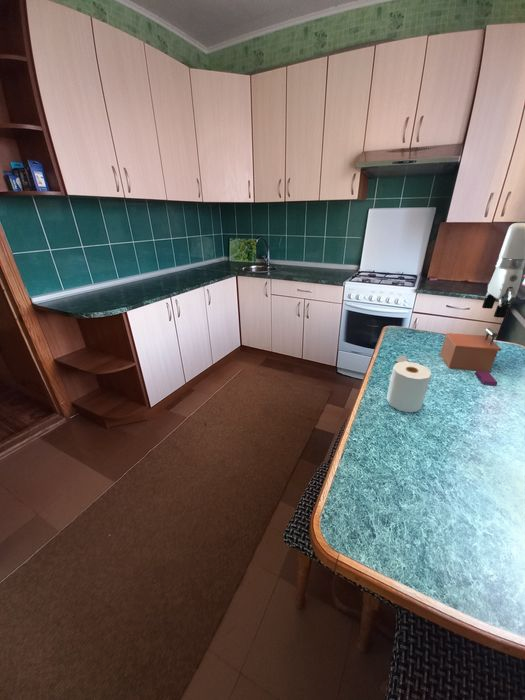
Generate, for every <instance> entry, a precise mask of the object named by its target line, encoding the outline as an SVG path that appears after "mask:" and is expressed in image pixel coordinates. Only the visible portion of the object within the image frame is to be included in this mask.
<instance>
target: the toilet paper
mask: <svg viewBox="0 0 525 700" xmlns="http://www.w3.org/2000/svg"><path fill="white" fill-rule="evenodd" d="M391 374H392V375H391ZM391 374H390V376H391V380H390V381H389V384H388V390H387V393H386V394H387V395H386V401H387V402H388V405H389V406H391V407H392V408H395V410H398V411H400V412H405V413H410V414H412V413H415V412H420V411H421V409H422V407H423V404H424V401H425V397H426V394H427V390H428V386H429V383H430V381H431V380H430V379H431V376H432V371H431V370H430V369H429V368H428V367H427V366H425V365H422V364H421V363H418V362H412V361H408V362H406V361H404V362H395V364H394V365H393V366H392V370H391Z"/></svg>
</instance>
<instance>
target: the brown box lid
mask: <svg viewBox="0 0 525 700" xmlns="http://www.w3.org/2000/svg"><path fill="white" fill-rule="evenodd" d="M485 332H486V334H485V335H478V334H465V333H453V332H451V333H450V332H445V336H447V337H448V338H449V340H450V341H451V342H452V344H453V345H454V346H455V347H458V348H470V349H482V350H495V351H498V352H501V351H502V348H501V347H500V346H499V345H498V344H497V343H496V342H495V341H494V339H495V338H496V337H498V333H497V332H496V331H495V330H493V329H492V328H491V327H487V328H485ZM489 336H490V337H489Z"/></svg>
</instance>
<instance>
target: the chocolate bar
mask: <svg viewBox="0 0 525 700" xmlns="http://www.w3.org/2000/svg"><path fill="white" fill-rule="evenodd" d="M474 375H475V376H476V377H477V379H478V381H480V383H481V385H484V386H493V387H497V385H498V381H497V380H496V379H495V377H494V376H493V375H492V374H491V373H490V372H484V371H475V372H474Z"/></svg>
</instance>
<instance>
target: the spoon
mask: <svg viewBox="0 0 525 700" xmlns="http://www.w3.org/2000/svg"><path fill="white" fill-rule="evenodd" d="M395 361H396V363H399V362H404V361H406V362H409V361H408V357H407V356H406V355H399V356H398V357H397V358H396V359H395ZM391 375H392V373H391V374H390V375H389V377H388V381H389V382H390V380H391Z"/></svg>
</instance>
